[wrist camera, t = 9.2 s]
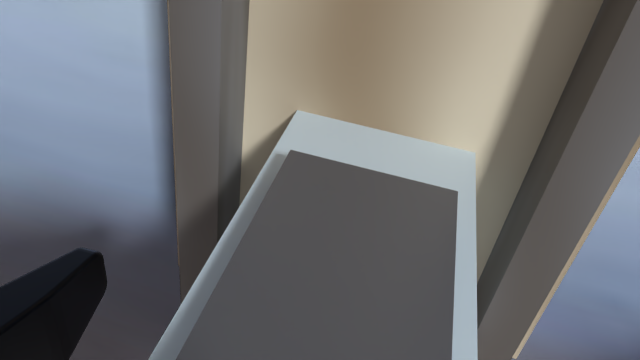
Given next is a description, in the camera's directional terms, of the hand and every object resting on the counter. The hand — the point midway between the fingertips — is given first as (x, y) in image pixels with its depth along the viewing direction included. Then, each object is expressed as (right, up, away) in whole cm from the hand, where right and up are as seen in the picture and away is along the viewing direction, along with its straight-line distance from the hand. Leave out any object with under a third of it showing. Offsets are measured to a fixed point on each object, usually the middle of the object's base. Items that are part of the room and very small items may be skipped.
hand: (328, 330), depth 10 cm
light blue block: (+1, +2, +3) cm, 4 cm away
